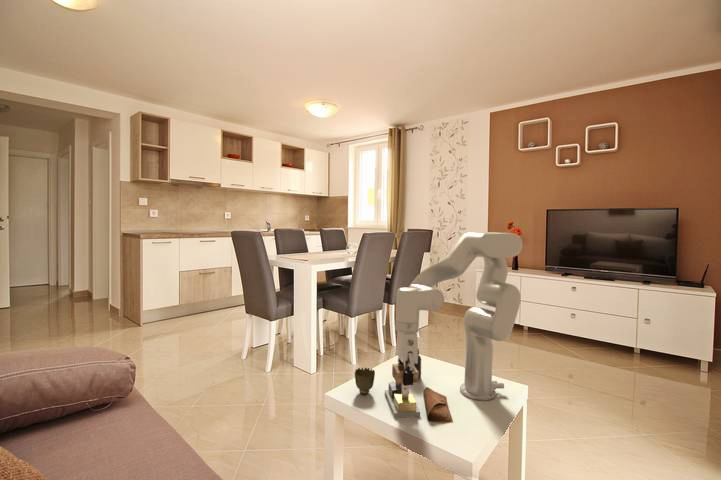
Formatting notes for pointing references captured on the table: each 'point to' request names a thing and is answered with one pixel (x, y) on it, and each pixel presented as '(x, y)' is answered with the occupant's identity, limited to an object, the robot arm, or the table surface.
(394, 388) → the stand rod
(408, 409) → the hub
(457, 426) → the table surface
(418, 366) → the supplement bottle
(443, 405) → the sunglasses case
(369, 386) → the cup
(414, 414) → the parts board
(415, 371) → the collar
